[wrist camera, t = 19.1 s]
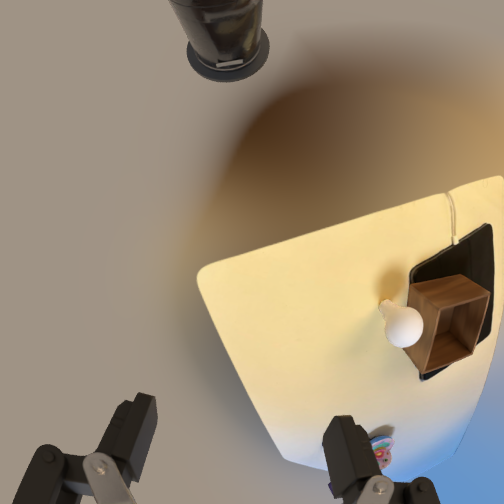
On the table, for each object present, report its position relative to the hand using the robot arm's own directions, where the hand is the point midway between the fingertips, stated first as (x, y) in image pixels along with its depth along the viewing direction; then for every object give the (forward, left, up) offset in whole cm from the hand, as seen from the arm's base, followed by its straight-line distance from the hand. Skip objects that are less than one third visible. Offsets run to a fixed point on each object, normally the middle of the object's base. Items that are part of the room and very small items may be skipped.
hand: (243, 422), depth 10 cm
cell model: (+57, +27, -30) cm, 70 cm away
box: (+16, +33, -30) cm, 47 cm away
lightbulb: (+12, +21, -30) cm, 39 cm away
